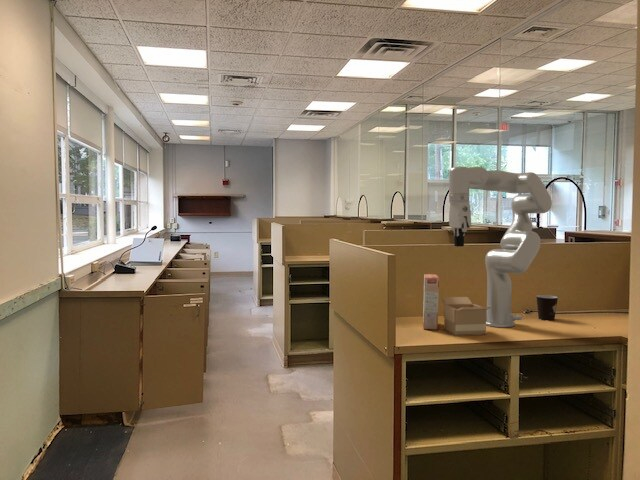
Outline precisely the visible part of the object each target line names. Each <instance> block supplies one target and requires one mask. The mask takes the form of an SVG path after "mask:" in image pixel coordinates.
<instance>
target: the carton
mask: <svg viewBox="0 0 640 480" xmlns="http://www.w3.org/2000/svg"><path fill="white" fill-rule="evenodd" d="M462 307H482V306H480V305H478V304H474V303H472V304H444V305H443V318H444V321H443V325H444V331H447V332H448V333H450V334H452V335H453V336H455V337H457V336H458V337H461V336H486V335H487V334H486V333H487V325H486V322H487V310H475V311H458V309H460V308H462Z"/></svg>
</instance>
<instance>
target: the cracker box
mask: <svg viewBox="0 0 640 480" xmlns="http://www.w3.org/2000/svg"><path fill="white" fill-rule="evenodd" d="M439 290H440V277H439V274H435V273H426V274H425V273H424V274H423V300H422V301H423V303H422V304H423V305H422V306H423V308H422V309H423V310H422V316H423V317H422V324H423V325H422V327H423V330H433V331H437V330H439V329H438V328H439V327H438V325H439V324H438V323H439V296H440V295H439V294H440V293H439Z"/></svg>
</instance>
